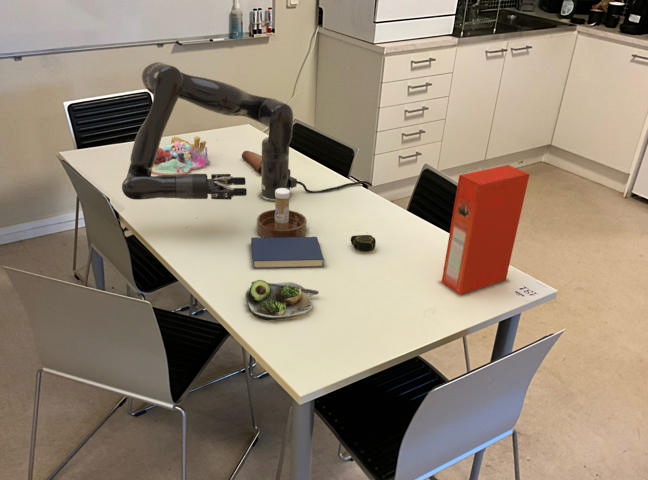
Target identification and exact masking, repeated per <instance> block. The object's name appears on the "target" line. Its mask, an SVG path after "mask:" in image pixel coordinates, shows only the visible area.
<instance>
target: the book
mask: <svg viewBox="0 0 648 480" xmlns="http://www.w3.org/2000/svg"><path fill="white" fill-rule="evenodd" d="M250 247H251V255H252V257H251V258H252V265H253V269H288V268H289V269H291V268H292V269H295V268H296V269H297V268H324V265H323V261H324V256H323V253H322V249H321V245H320V242H319V239H318V236H302V237H270V238H264V237H251V238H250Z"/></svg>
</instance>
